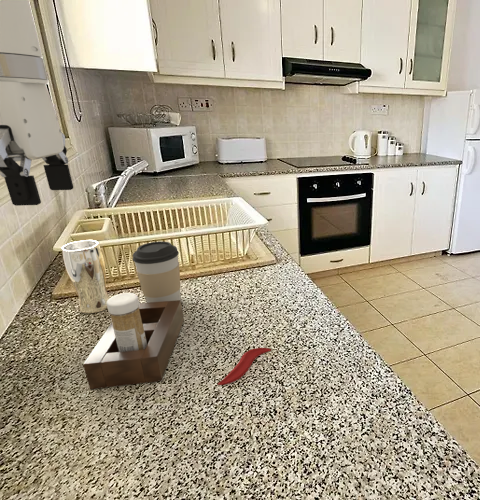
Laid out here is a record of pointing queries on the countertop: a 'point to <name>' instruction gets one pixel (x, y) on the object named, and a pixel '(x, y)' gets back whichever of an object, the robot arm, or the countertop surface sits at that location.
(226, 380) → the cayenne pepper
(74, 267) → the beer glass
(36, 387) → the countertop surface
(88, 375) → the holder
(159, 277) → the coffee cup
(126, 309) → the sprinkles bottle
